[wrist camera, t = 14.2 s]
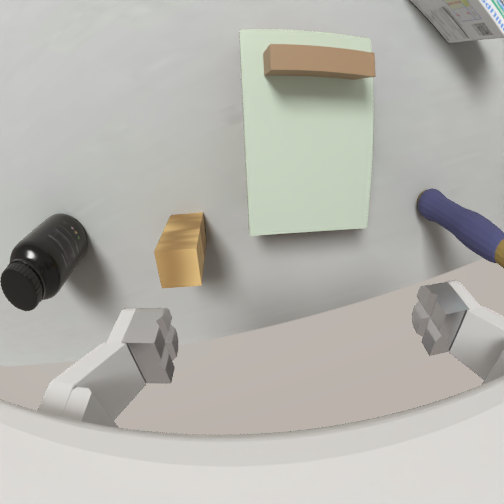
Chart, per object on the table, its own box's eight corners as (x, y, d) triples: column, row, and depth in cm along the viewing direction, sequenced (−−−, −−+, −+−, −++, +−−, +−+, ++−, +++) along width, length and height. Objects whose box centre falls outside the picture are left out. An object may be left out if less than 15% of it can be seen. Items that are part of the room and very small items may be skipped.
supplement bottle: (65, 270, 34) (23, 328, 24) (35, 229, 32) (-18, 277, 21) (99, 247, 34) (57, 305, 23) (68, 201, 31) (12, 245, 20)
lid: (366, 40, 21) (392, 31, 17) (362, 224, 30) (384, 245, 25) (239, 32, 21) (242, 16, 16) (249, 231, 29) (253, 255, 25)
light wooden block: (202, 212, 33) (196, 248, 25) (206, 242, 35) (201, 285, 26) (170, 215, 33) (154, 251, 25) (175, 244, 34) (161, 288, 26)
